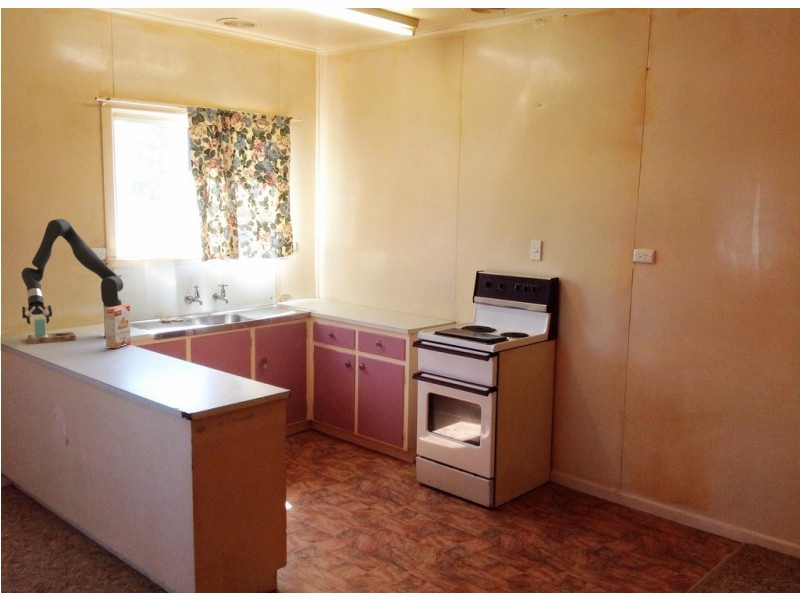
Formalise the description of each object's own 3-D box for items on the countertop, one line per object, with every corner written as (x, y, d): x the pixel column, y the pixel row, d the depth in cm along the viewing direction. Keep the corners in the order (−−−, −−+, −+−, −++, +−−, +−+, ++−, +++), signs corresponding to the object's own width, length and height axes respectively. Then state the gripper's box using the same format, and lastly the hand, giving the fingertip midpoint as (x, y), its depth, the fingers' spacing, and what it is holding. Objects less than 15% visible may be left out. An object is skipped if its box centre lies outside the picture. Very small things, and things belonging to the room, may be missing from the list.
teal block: (44, 334, 386) (43, 318, 385) (45, 336, 382) (44, 319, 381) (35, 335, 384) (34, 318, 382) (35, 337, 380) (35, 320, 379)
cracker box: (116, 349, 370) (115, 309, 367) (105, 348, 371) (104, 308, 368) (131, 344, 383) (130, 305, 380) (121, 343, 384) (120, 304, 381)
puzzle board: (72, 337, 397) (72, 331, 396) (75, 341, 387) (75, 335, 386) (27, 340, 386) (27, 334, 385) (29, 345, 375) (29, 338, 375)
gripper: (20, 295, 387) (23, 319, 379) (50, 293, 395) (53, 318, 387) (20, 303, 393) (23, 328, 385) (49, 302, 400) (52, 326, 392)
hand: (38, 323), depth 386 cm, fingers open, 8 cm apart
